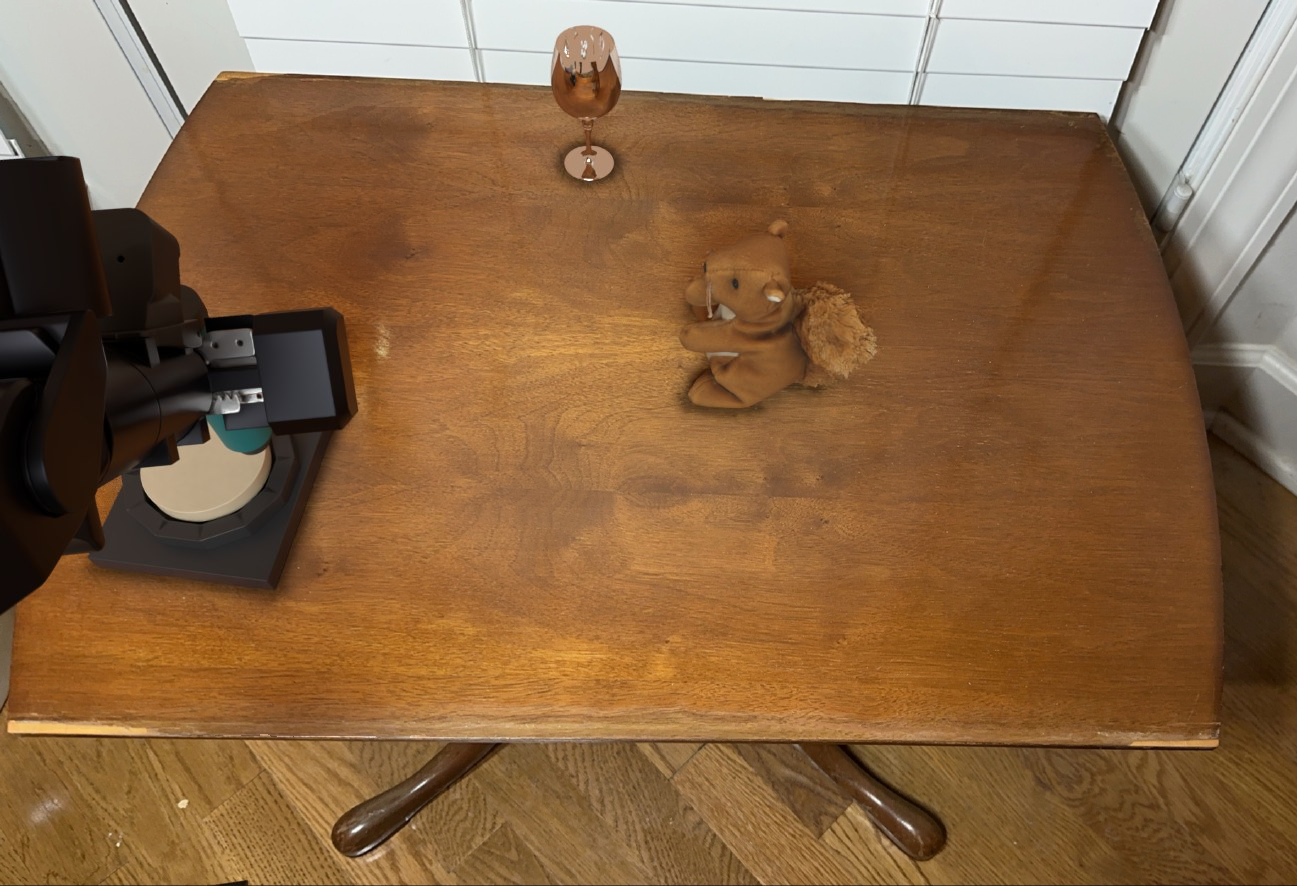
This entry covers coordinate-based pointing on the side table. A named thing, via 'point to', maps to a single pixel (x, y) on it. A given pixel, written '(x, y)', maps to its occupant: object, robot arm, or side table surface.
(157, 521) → the button base
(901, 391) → the side table surface
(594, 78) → the wineglass
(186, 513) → the pad disc
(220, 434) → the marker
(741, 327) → the stuffed squirrel
